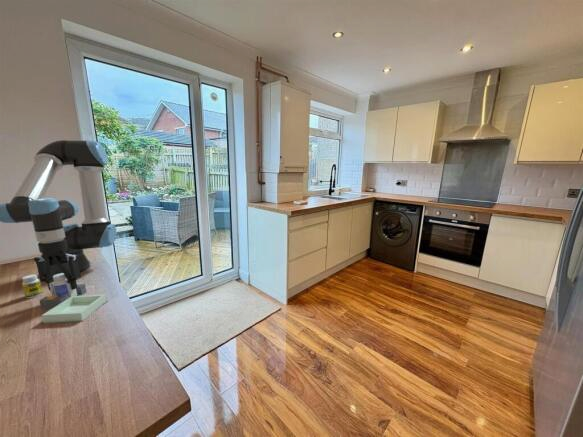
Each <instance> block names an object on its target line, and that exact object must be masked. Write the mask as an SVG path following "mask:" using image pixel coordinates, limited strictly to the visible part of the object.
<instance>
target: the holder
mask: <svg viewBox="0 0 583 437" xmlns="http://www.w3.org/2000/svg"><path fill="white" fill-rule="evenodd" d="M76 291H77V295H76V296H83V295H84V294H85V293H87V289H86V284H85V283H82V284H81V283H80V284H77V288H76ZM65 300H66V296H58V295H54V296H52V295H50V296H45V297H43V298H41V299H39V305H40V309H41V310H51V309H53V308H54V307H56V306H57V305H59V304H61V303H62V302H64V301H65Z"/></svg>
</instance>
